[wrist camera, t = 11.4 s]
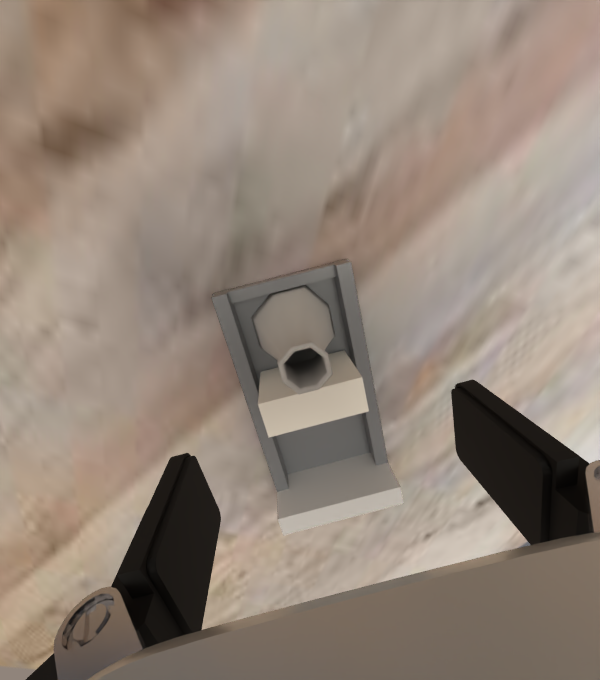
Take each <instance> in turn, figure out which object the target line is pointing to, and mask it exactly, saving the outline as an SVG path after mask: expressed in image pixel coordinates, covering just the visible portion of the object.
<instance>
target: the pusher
mask: <svg viewBox="0 0 600 680" xmlns="http://www.w3.org/2000/svg"><path fill="white" fill-rule="evenodd" d="M328 355H329V359H330V364H331V368H332V373H333V375H332V376H331V377H330V378H329V379H328V380H327V381H326V382H325V383H324V385H323V386H322V387H321V388H320V389H318V390H315V391H311V392H307V393H303V394H298V393H296V392H295V391H293V390H292V389H291V388H289V387H288V386H286V385H285V384H284V383H283V382H282V378H281V375H280V371H279V368H278V367H277V368H274V369H270V370H266V371H262V372H261V373H260V385H259V397H258V406H259V409H260V412H261V416H262V419H263V422H264V425H265V428H266V431H267V434H268V437H273V436H277V435H281V434H284V433H288V432H292V431H296V430H300V429H303V428H307V427H311V426H315V425H319V424H323V423H326V422H330V421H334V420H338V419H342V418H345V417H349V416H353V415H357V414H361V413H364V412H368V411H369V409H368V404H367V399H366V394H365V388H364V383H363V378H362V376H361V374H360V373H359V371H358V370H357V368H356V367H355V365H354V364H353V362H352V361H351V359H350V358H349V356H348V355H347V353H346V352H345V350H343V351H339V352H335V353H331V354H328Z"/></svg>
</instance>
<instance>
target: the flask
mask: <svg viewBox="0 0 600 680" xmlns="http://www.w3.org/2000/svg"><path fill="white" fill-rule="evenodd" d="M251 319H252V322H253V325H254V329H255V332H256V336H257V339H258V342H259V346H260V348H261V349H263V350H264V351H265V352H267V353H268V354H269V355H271V356H272V357H274V358H275V359H276V360H278V362H277V364H278V368H279V371H280V375H281V378H282V382H283V383H284V384H285V385H286V386H288V387H289V388H291V389H292V390H293V391H295V392H296V393H298V394H303V393H307V392H311V391H315V390H318V389H320V388H321V387H322V386H323V385H324V383H325V382H326V381H327V380H328V379H329V378H330V377H331V376H332V375H333V373H332V368H331V364H330V359H329V355H328V353H327V352H325V349H326V347H327V346H328V344H329V343H330V341H331V340H332V339H333V338H334V336H335V331H334V326H333V321H332V316H331V312H330V307H329V304H328V303H326V302H325V301H324V300H323V299H322V298H321V297H319V296H318V295H317V294H316V293H315V292H313V291H312V290H311V289H310V288H309V287H307V286H306V285H302V286H298V287H294V288H290V289H287V290H283V291H279V292H275V293H271V294H270V295H269V296H268V297H267V298H266V300H265V301H264V302H263V303H262V305H261V306H260V307H259V308H258V310H257V311H256V312H255V313H254V315H253V316H252V317H251Z"/></svg>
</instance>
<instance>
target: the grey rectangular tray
mask: <svg viewBox="0 0 600 680" xmlns="http://www.w3.org/2000/svg"><path fill="white" fill-rule="evenodd" d="M302 285H306V286H307V287H309V288H310V289H311V290H312V291H313V292H315V293H316V294H317V295H318V296H319V297H321V298H322V299H323V300H324V301H325V302H326V303H328V304H329V307H330V312H331V316H332V321H333V326H334V331H335V336H334V338H333V339H332V340H331V341H330V343H329V344H328V346H327V347H326V349H325V352H327V353H328V354H331V353H335V352H339V351H343V350H345V352H346V353H347V355H348V356H349V358H350V359H351V361H352V362H353V364H354V365H355V367H356V368H357V370H358V371H359V373H360V374H361V376H362V378H363V383H364V388H365V394H366V399H367V404H368V409H369V411H368V412H364V413H361V414H357V415H353V416H349V417H345V418H342V419H338V420H334V421H330V422H326V423H323V424H319V425H315V426H311V427H307V428H303V429H300V430H296V431H292V432H288V433H284V434H281V435H277V436H273V437H268V434H267V431H266V428H265V425H264V422H263V419H262V416H261V412H260V409H259V406H258V397H259V385H260V373H261V372H262V371H266V370H270V369H274V368H277V367H278V364H277V362H278V360H276V359H275V358H274V357H272V356H271V355H269V354H268V353H267V352H265V351H264V350H263V349H261V348H260V346H259V342H258V339H257V336H256V332H255V329H254V325H253V322H252V319H251V317H252V316H253V315H254V313H255V312H256V311H257V310H258V308H259V307H260V306H261V305H262V303H263V302H264V301H265V300H266V298H267V297H268V296H269V295H270V294H271V293H275V292H279V291H283V290H287V289H290V288H294V287H298V286H302ZM212 295H213V297H212V301H213V304H214V307H215V310H216V313H217V316H218V319H219V322H220V325H221V328H222V331H223V334H224V337H225V340H226V343H227V346H228V348H229V351H230V354H231V357H232V360H233V363H234V366H235V369H236V372H237V375H238V378H239V381H240V384H241V387H242V390H243V393H244V396H245V399H246V402H247V405H248V408H249V411H250V413H251V416H252V419H253V422H254V425H255V428H256V431H257V434H258V437H259V440H260V443H261V446H262V449H263V452H264V455H265V458H266V461H267V464H268V467H269V470H270V473H271V476H272V478H273V481H274V484H275V487H276V490H277V512H278V522H279V525H280V528H281V530H282V533H283V536H284V535H287V534H291V533H295V532H299V531H302V530H306V529H310V528H314V527H317V526H321V525H325V524H329V523H333V522H336V521H340V520H344V519H348V518H351V517H355V516H359V515H363V514H366V513H370V512H374V511H378V510H382V509H385V508H389V507H393V506H397V505H400V504H404V503H403V497H402V491H401V486H400V484H399V482H398V481H397V479H396V477H395V475H394V473H393V471H392V469H391V467H390V465H389V463H388V460H387V454H386V449H385V443H384V438H383V433H382V427H381V422H380V416H379V411H378V405H377V400H376V394H375V389H374V384H373V378H372V373H371V367H370V362H369V356H368V351H367V345H366V340H365V335H364V329H363V324H362V318H361V313H360V307H359V302H358V297H357V291H356V286H355V280H354V275H353V269H352V264H351V262H350V261H349V259H344V260H341V261H337V262H333V263H329V264H325V265H321V266H317V267H313V268H310V269H306V270H302V271H298V272H294V273H290V274H286V275H282V276H278V277H275V278H271V279H267V280H263V281H259V282H255V283H251V284H247V285H243V286H240V287H236V288H232V289H228V290H224V291H220V292H216V293H213V294H212Z"/></svg>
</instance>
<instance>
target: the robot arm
mask: <svg viewBox="0 0 600 680" xmlns="http://www.w3.org/2000/svg"><path fill="white" fill-rule="evenodd" d="M451 394H452V406H453V418H454V431H455V443H456V451H457V454H458V457H459V458H460V460H461V461H462V462H463V464H464V465H465V466H466V467H467V468H468V470H469V471H470V472H471V473H472V474H473V476H474V477H475V478H476V479H477V480H478V482H479V483H480V484H481V485H482V487H483V488H484V489H485V490H486V491H487V493H488V494H489V495H490V496H491V497H492V499H493V500H494V501H495V502H496V503H497V505H498V506H499V507H500V508H501V509H502V511H503V512H504V513H505V514H506V515H507V517H508V518H509V519H510V520H511V521H512V523H513V524H514V525H515V526H516V527H517V529H518V530H519V531H520V532H521V533H522V535H523V536H524V537H525V538H526V540H527V541H528V542H529V543H530V544H531V545H530V546H525V547H521V548H517V549H512V550H508V551H504V552H500V553H496V554H492V555H488V556H484V557H480V558H476V559H472V560H468V561H464V562H460V563H456V564H452V565H448V566H444V567H440V568H436V569H432V570H428V571H424V572H420V573H416V574H412V575H408V576H405V577H401V578H397V579H393V580H389V581H385V582H381V583H377V584H373V585H369V586H366V587H362V588H358V589H354V590H350V591H346V592H342V593H339V594H335V595H331V596H327V597H323V598H319V599H315V600H312V601H308V602H304V603H300V604H297V605H293V606H289V607H285V608H281V609H278V610H274V611H270V612H266V613H262V614H259V615H255V616H251V617H247V618H244V619H240V620H236V621H232V622H229V623H225V624H222V625H218V626H215V627H211V628H208V629H204V630H201V629H202V623H203V617H204V612H205V606H206V601H207V595H208V589H209V584H210V578H211V573H212V567H213V561H214V556H215V550H216V545H217V539H218V533H219V528H220V522H221V516H220V511H219V508H218V506H217V504H216V502H215V499H214V497H213V495H212V493H211V490H210V488H209V486H208V484H207V481H206V479H205V477H204V474H203V472H202V470H201V468H200V465H199V463H198V461H197V459H196V457H195V456H191V455H190V454H189V453H185V454H182V455H178V456H174V457H171V458H170V460H169V462H168V464H167V466H166V468H165V471H164V473H163V475H162V477H161V479H160V482H159V484H158V486H157V488H156V490H155V493H154V495H153V497H152V499H151V501H150V504H149V506H148V508H147V509H146V511H145V514H144V516H143V518H142V520H141V522H140V525H139V527H138V529H137V531H136V533H135V536H134V538H133V540H132V542H131V544H130V547H129V549H128V551H127V553H126V555H125V558H124V560H123V562H122V564H121V566H120V568H119V571H118V573H117V575H116V577H115V579H114V582H113V584H112V586H111V587H105V588H101V589H99V590H97V591H95V592H93V593H91V594H90V595H88V596H87V597H86V598H84V599H83V600H82V601H81V602H80V603H79V604H77V605H76V606H75V607H74V608H73V610H72V611H71V612H70V613H69V614H68V616H67V617H66V618H65V620H64V621H63V623H62V625H61V626H60V628H59V630H58V632H57V635H56V638H55V640H54V654H53V655H51V656H50V657H49V658H48V659H47V660H46V661H45V662H44V663H43V664H42V665H41V666H40V667H39V668H38V669H37V670H35V671H34V672H33V673H32V674H31V675H30V676H29V677H28V678H27V679H26V680H600V460H598V461H595V462H592V463H590V464H589V463H588V462H587V461H585V460H584V459H582V458H581V457H580V456H579V455H577V454H576V453H574V452H573V451H572V450H570V449H569V448H568V447H566V446H565V445H563V444H562V443H561V442H559V441H558V440H557V439H555V438H554V437H552V436H551V435H550V434H548V433H547V432H545V431H544V430H543V429H541V428H540V427H539V426H537V425H536V424H534V423H533V422H532V421H530V420H529V419H528V418H526V417H525V416H523V415H522V414H521V413H519V412H518V411H517V410H515V409H514V408H512V407H511V406H510V405H508V404H507V403H506V402H504V401H503V400H501V399H500V398H499V397H497V396H496V395H494V394H493V393H492V392H490V391H489V390H488V389H486V388H485V387H483V386H482V385H481V384H479V383H478V382H477V381H475V380H469V381H466V382H462V383H458V384H456V386H455V389H452V392H451Z"/></svg>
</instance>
